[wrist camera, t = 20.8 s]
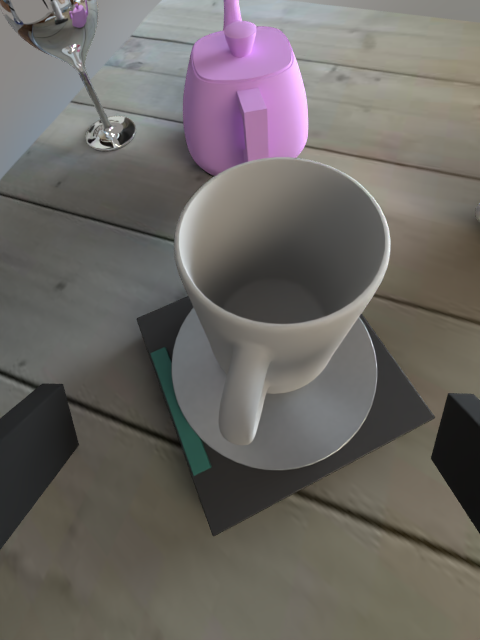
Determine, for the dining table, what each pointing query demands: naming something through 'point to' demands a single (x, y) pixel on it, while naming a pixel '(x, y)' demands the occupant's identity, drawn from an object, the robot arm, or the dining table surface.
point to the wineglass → (69, 53)
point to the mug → (277, 275)
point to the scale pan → (279, 402)
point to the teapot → (243, 96)
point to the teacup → (477, 212)
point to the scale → (273, 485)
